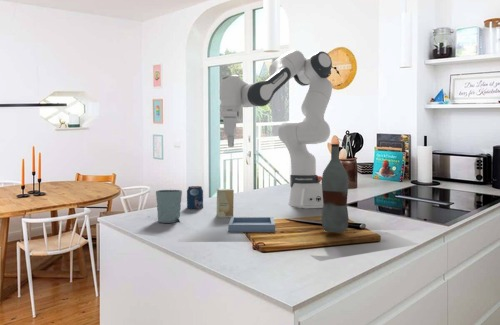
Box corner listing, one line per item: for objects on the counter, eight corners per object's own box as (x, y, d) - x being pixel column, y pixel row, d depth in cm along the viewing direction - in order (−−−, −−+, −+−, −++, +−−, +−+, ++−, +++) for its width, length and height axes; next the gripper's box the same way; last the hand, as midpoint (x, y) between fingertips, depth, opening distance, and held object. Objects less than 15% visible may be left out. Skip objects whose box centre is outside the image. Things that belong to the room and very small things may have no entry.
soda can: (198, 215, 183) (198, 187, 183) (184, 215, 186) (183, 187, 185) (205, 213, 190) (205, 186, 189) (191, 212, 192) (191, 185, 192)
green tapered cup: (151, 222, 169) (150, 191, 168) (165, 218, 178) (164, 189, 178) (173, 223, 165) (173, 192, 165) (186, 219, 175) (186, 189, 174)
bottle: (331, 233, 145) (331, 143, 143) (316, 228, 153) (316, 144, 152) (354, 231, 149) (354, 143, 147) (337, 226, 157) (338, 144, 156)
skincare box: (218, 220, 171) (218, 190, 170) (216, 219, 175) (215, 188, 175) (234, 219, 173) (234, 189, 172) (231, 218, 177) (231, 188, 176)
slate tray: (273, 223, 164) (273, 216, 164) (275, 231, 148) (275, 224, 148) (231, 223, 164) (231, 217, 164) (228, 231, 148) (228, 224, 148)
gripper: (225, 115, 192) (225, 146, 193) (221, 112, 172) (221, 147, 172) (239, 115, 192) (239, 146, 193) (237, 112, 172) (237, 146, 172)
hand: (230, 146), depth 182 cm, fingers open, 8 cm apart
